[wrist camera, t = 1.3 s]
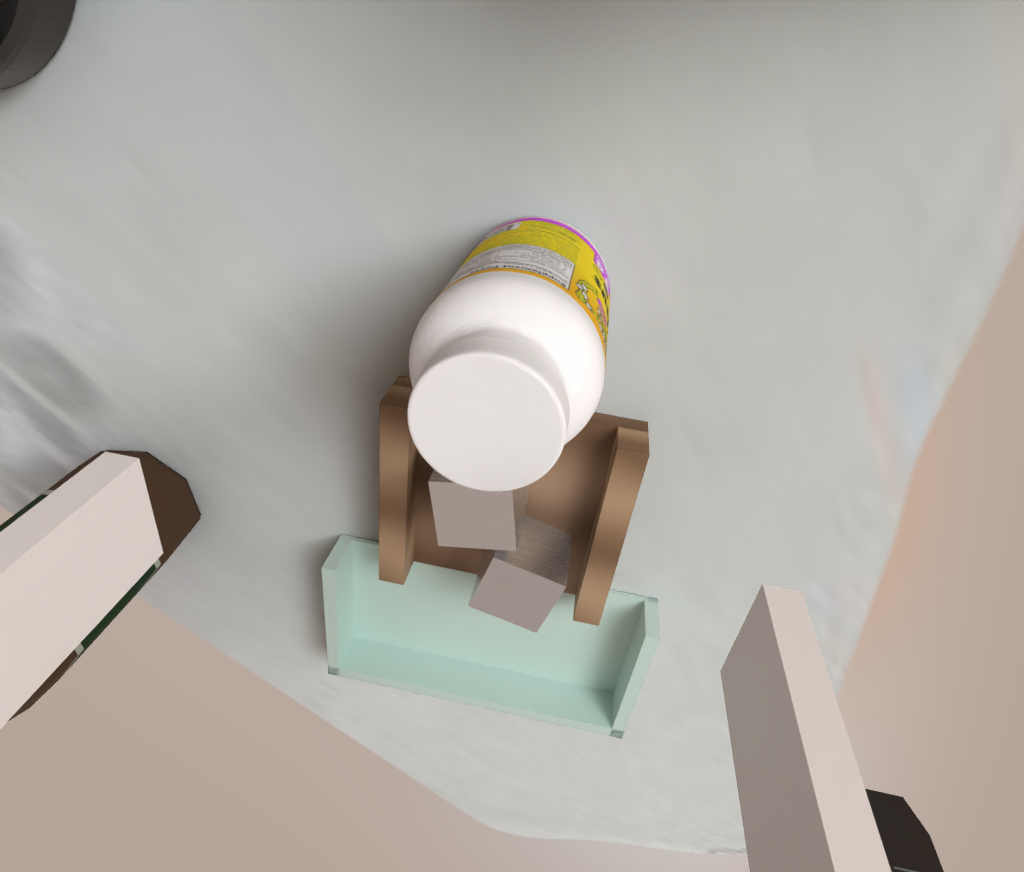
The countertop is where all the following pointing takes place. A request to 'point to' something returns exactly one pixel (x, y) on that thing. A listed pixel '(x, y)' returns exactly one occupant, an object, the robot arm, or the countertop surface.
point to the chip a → (476, 515)
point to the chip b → (524, 576)
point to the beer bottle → (173, 525)
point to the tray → (484, 644)
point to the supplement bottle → (511, 355)
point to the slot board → (551, 499)
